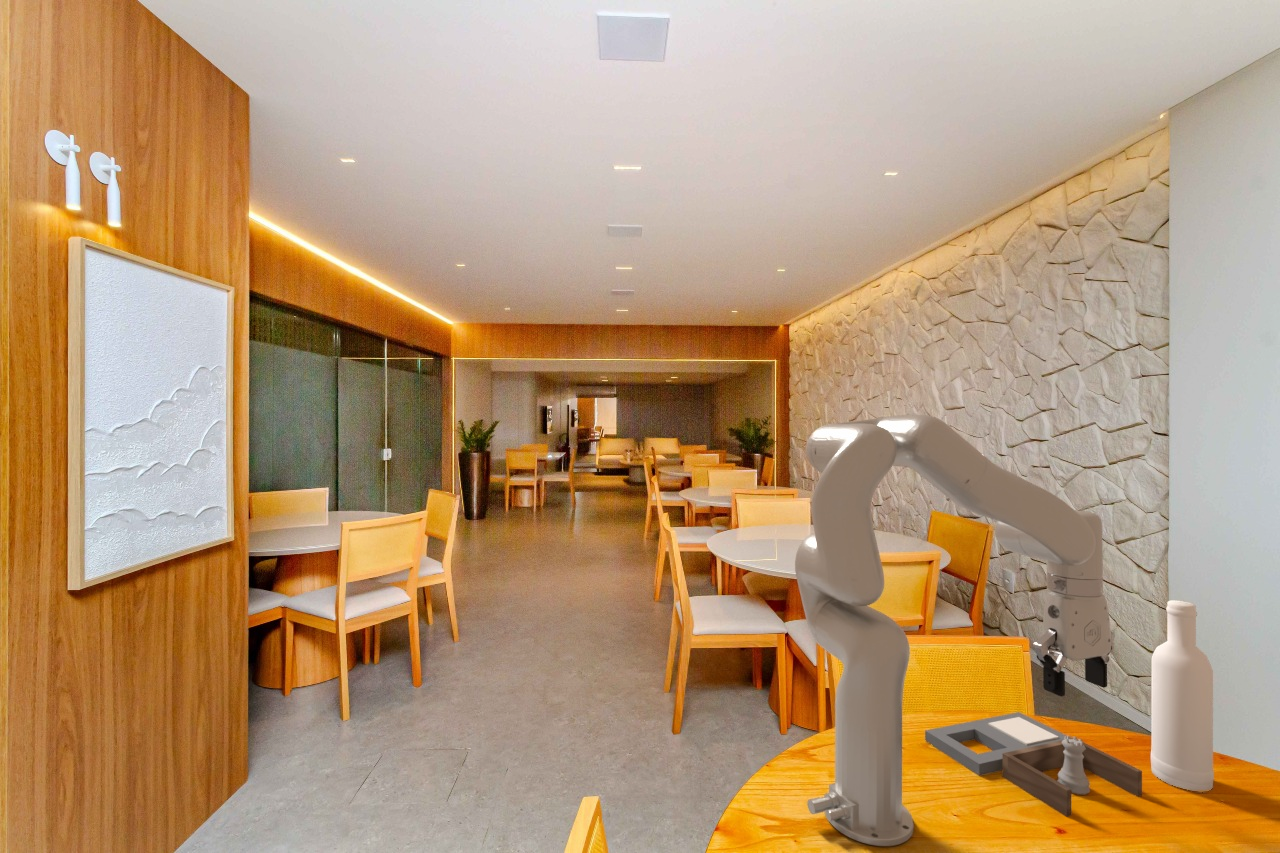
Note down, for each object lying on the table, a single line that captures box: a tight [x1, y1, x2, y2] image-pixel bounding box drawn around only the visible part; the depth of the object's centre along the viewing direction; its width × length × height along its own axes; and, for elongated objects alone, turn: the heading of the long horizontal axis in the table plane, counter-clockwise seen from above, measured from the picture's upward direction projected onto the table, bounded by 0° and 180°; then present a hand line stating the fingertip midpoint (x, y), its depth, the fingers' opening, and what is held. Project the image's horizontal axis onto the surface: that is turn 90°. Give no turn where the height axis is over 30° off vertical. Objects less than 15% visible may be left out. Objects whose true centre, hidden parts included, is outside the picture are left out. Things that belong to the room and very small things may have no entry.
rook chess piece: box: [1056, 735, 1091, 796], centre depth 99 cm, size 4×4×8 cm
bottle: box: [1150, 599, 1215, 792], centre depth 101 cm, size 8×8×30 cm
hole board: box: [924, 711, 1068, 776], centre depth 112 cm, size 24×12×2 cm, turn 109°
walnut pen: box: [1001, 737, 1143, 817], centre depth 99 cm, size 17×11×4 cm, turn 109°
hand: (1075, 688), depth 99 cm, fingers open, 9 cm apart
